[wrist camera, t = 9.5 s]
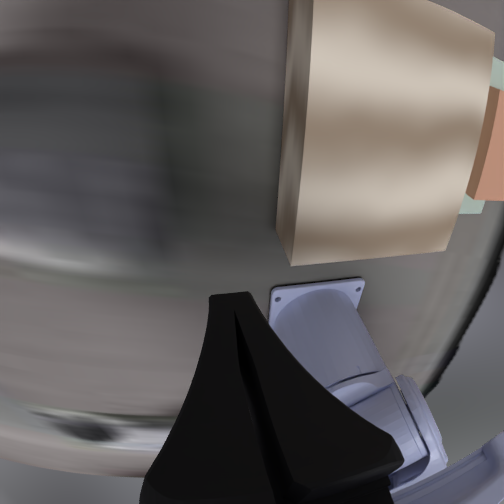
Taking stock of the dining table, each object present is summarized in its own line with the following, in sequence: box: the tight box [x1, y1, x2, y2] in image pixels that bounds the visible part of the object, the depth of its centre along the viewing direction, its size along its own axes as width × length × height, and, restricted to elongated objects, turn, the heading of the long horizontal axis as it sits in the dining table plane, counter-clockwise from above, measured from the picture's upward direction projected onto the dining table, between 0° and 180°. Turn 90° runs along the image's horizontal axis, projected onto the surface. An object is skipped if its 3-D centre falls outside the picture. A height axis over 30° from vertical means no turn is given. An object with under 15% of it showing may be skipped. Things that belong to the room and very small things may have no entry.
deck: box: [275, 0, 495, 266], centre depth 17 cm, size 16×12×4 cm
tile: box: [465, 86, 504, 201], centre depth 19 cm, size 9×6×2 cm, turn 179°
